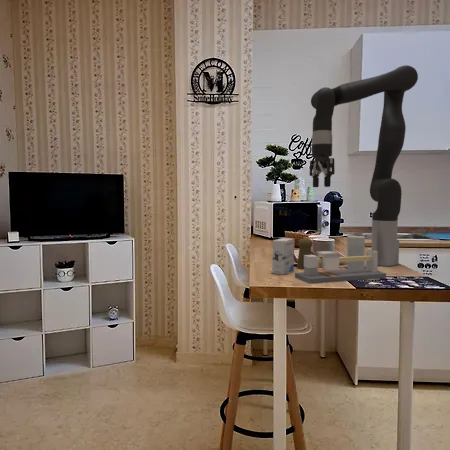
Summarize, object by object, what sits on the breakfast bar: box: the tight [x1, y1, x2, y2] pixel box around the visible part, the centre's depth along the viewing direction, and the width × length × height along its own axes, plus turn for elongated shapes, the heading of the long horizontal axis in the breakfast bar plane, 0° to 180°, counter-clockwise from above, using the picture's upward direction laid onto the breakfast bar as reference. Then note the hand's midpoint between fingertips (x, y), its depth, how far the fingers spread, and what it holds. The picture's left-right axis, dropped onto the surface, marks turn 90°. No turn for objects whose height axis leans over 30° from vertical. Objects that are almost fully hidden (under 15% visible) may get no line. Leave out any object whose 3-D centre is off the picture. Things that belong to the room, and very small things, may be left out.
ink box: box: [271, 237, 296, 276], centre depth 145 cm, size 9×5×12 cm, turn 148°
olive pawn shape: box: [296, 238, 313, 271], centre depth 153 cm, size 6×6×11 cm
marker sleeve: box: [315, 250, 341, 271], centre depth 134 cm, size 5×6×5 cm
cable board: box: [294, 249, 387, 284], centre depth 136 cm, size 28×10×8 cm, turn 107°
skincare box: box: [346, 235, 366, 270], centre depth 151 cm, size 6×4×12 cm
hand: (321, 187), depth 156 cm, fingers open, 8 cm apart
